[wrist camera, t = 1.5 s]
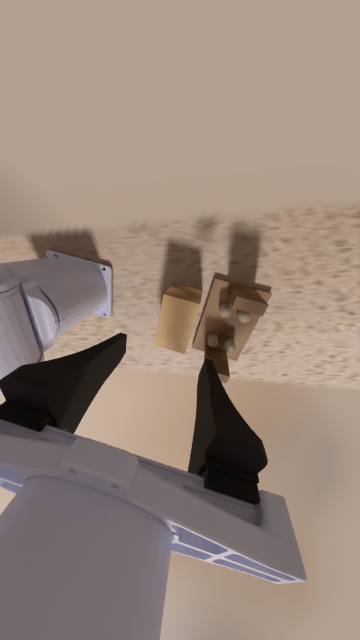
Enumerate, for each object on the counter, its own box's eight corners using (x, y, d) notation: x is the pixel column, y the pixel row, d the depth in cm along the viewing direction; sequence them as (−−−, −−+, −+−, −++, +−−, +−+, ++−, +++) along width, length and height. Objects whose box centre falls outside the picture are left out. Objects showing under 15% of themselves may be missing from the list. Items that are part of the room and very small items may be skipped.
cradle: (192, 345, 25) (188, 371, 20) (214, 277, 20) (215, 290, 15) (235, 358, 25) (241, 387, 20) (270, 292, 19) (290, 310, 14)
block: (164, 326, 24) (154, 345, 20) (173, 282, 21) (163, 294, 17) (189, 333, 24) (184, 354, 20) (202, 290, 21) (200, 304, 17)
